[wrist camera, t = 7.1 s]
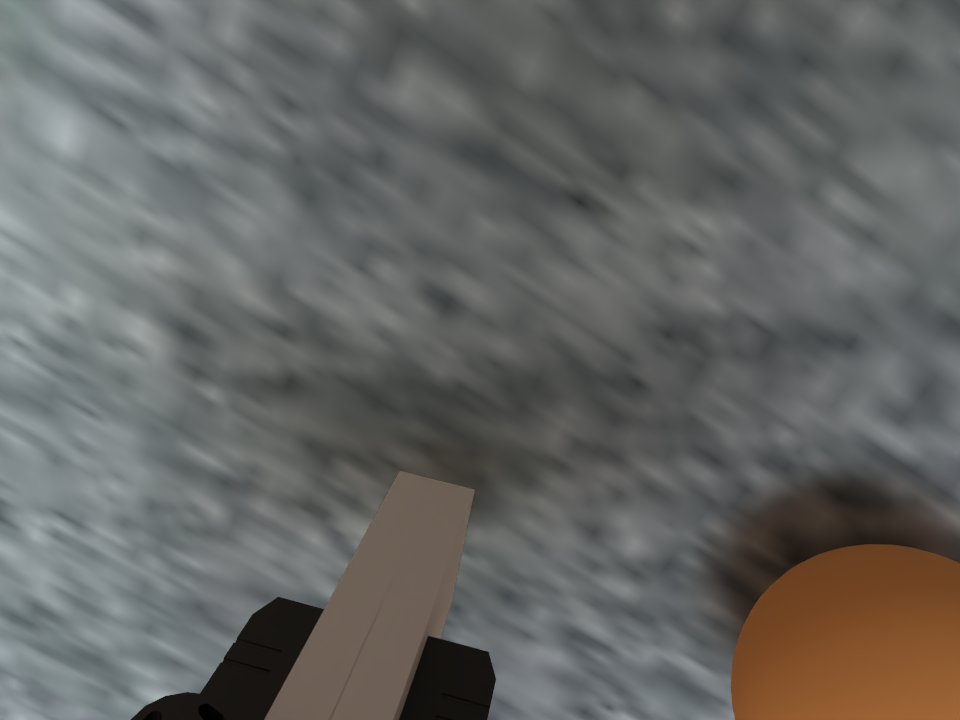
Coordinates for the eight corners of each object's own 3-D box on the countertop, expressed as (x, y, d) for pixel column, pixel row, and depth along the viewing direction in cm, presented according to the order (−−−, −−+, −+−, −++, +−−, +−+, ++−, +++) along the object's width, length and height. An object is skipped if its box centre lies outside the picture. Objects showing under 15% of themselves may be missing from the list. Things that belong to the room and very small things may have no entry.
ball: (1186, 631, 11) (840, 435, 15) (919, 943, 10) (631, 647, 14) (1150, 756, 15) (878, 570, 19) (949, 994, 14) (712, 746, 18)
